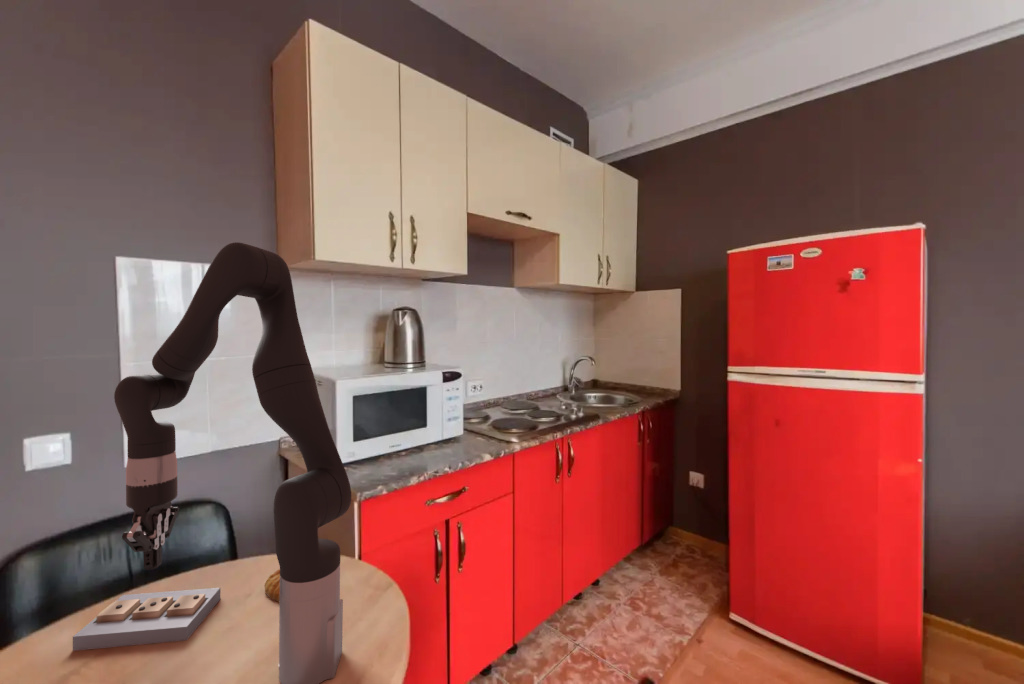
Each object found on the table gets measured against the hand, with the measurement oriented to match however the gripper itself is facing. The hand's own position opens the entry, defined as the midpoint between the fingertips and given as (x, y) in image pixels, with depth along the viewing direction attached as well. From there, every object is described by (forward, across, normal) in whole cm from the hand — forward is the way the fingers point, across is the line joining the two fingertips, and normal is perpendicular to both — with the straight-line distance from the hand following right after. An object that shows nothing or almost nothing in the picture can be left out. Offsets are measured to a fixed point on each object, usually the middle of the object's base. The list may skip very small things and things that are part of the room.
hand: (153, 567), depth 81 cm
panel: (+11, 0, 0) cm, 11 cm away
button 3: (+10, 0, 0) cm, 10 cm away
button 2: (+10, 0, -6) cm, 12 cm away
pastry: (+12, +8, -21) cm, 25 cm away
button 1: (+10, 0, +6) cm, 12 cm away
